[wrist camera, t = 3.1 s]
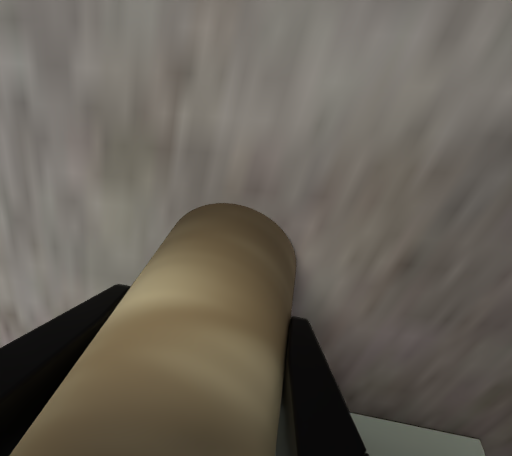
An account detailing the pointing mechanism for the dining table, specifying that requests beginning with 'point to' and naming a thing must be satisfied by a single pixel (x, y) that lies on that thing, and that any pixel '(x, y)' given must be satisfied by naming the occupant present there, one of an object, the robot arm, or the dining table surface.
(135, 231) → the dining table surface
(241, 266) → the peg
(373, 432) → the caddy
